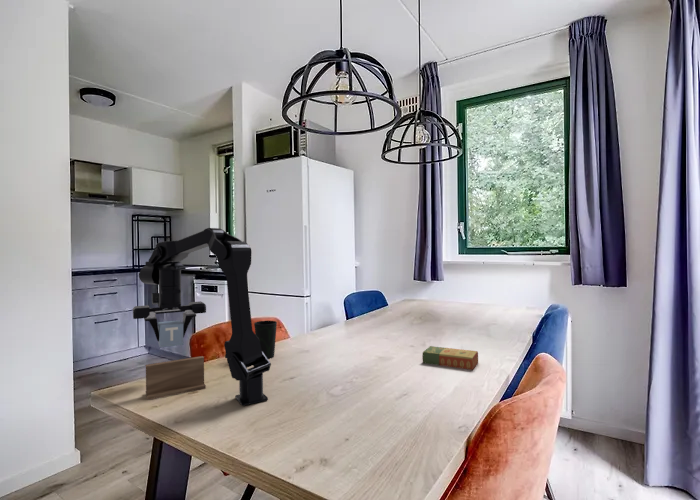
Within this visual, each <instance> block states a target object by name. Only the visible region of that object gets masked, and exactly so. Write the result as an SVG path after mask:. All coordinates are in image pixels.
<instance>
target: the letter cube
mask: <svg viewBox="0 0 700 500" xmlns="http://www.w3.org/2000/svg"><path fill="white" fill-rule="evenodd" d="M157 324H158V331H159V341H157V342H158V347H159V348H167V347H175V346H176V347H177V346H183V345H184V338H183V321H182V320H171V321H170V320H169V321H159V322H158V321H157Z"/></svg>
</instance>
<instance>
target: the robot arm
mask: <svg viewBox="0 0 700 500" xmlns="http://www.w3.org/2000/svg"><path fill="white" fill-rule="evenodd" d="M207 247H208V248H209V251H210V252H211V253H212V254H213V255H214V256H215V257H216V259H217V262H218V267H219V268H220V270H221V271H222V273H223V274H224V276H225V278H226V285H227V294H228V306H229V313H230V325H231V326H230V327H231V336H230V338H229V340H227V341H226V340H225V341H224V350H225V355H224V358H225V359H226V361H227V365H228V369H229V372H230V376H231V378H232V379H235V381H237V382H239V388H238V389H239V394H236V395H235V396H234V398H235V399H236V400H237V402H238V403H239V404H240V405H241V406H242V407H243V406H244V407H245V406H247V405H252V404H257V403H261V402H265V401H268V400H269V397H268V396H267V395H266V394H265V393H264V373H266V372H269V371H270V369H271V366H272V363H271V361H270V359H267V357H266V356H265V354H264V353H263V352H262V349H261V345H260V341H259V339H258V337H257V336H256V335H255V331H253V323H252V316H251V315H252V313H251V303H250V297H249V295H250V294H249V284H248V276H247V275H248V272H249V270H250V267H251V265H252V248H251V245H250V244H248V243H247V242H246V241H242V239H239V238H237V237H236V236H233V235H232V234H229V233H228V232H227V231H225V230H224V229H222V228H221V227H220V228H219V227H218V228H217V227H207V228H205V229H203V230H202V231H198V232H196V233H193V234H192V235H189V236H185V237H183V238H181V239H179V240H165V241H158V243H156V245H155V247H154V249H153V251H152V254H151V255H150V257H149V258H148V261H145V263H144V264H145V265H144V266H142V268H141V269H140V270H139V273H138V278H139V281H141V282H142V283H143V284H145V285H155V286H156V285H158V292H152V293H151V304H152V305H153V306H154V305H157V306H158V307H150V306H149V305H147V304H145V305H135V306H133V308H132V319H133V320H139V319H141V320H142V319H143V320H144V322H149V324H150V326H151V328H152V329H153V333H154V335H155V338H156V341H157V342H158V341H159V331H158V319H157V316H156V315H160V314H161V315H162V314H171V313H172V314H174V313H182V323H183V339H184V338H185V335H186V332H187V329H188V328H189V325H190V323H191V321H192V319H193V318H196V317H197V314H205V313H207V305H206V304H205V303H204V302H203V301H190V302H189V303H188V304H185V305H184V304H183V305H182V271H183V270H184V271H185V270H186V269H187V267H186V266H185V265H183V263H182V261H183V260H185V259H186V258H188V256H189V255H190V254H191V253H194V252H196V251H199V250H202V249H205V248H207ZM249 367H250V368H249Z"/></svg>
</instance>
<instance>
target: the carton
mask: <svg viewBox="0 0 700 500" xmlns="http://www.w3.org/2000/svg"><path fill="white" fill-rule="evenodd" d="M421 360H422V364H429V365H436V366H441V367H450V368H457V369H463V370H470V371H473V370H475V368H476V366H477V365H478V364H479V352H478V351H477V350H472V349H471V350H470V349H462V348H461V349H459V348H449V347H441V346H433V345H429V346H428V347H427V348H425V349H424V351H422V359H421Z"/></svg>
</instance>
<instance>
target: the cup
mask: <svg viewBox="0 0 700 500" xmlns="http://www.w3.org/2000/svg"><path fill="white" fill-rule="evenodd" d="M277 323H278V322H277V321H276V320H261V321H255V322H254V323H253V324H254V326H253V327H254V333H255V335H256V336H257V337H258V339H259V341H260V345H261V349H262V352H263V353H264V354H265V356H266V357H267V359H268V360H270V358H271V359H273V358H274V357H275V351H276V350H275V349H276V340H277V339H276V337H277V325H278V324H277Z"/></svg>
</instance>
